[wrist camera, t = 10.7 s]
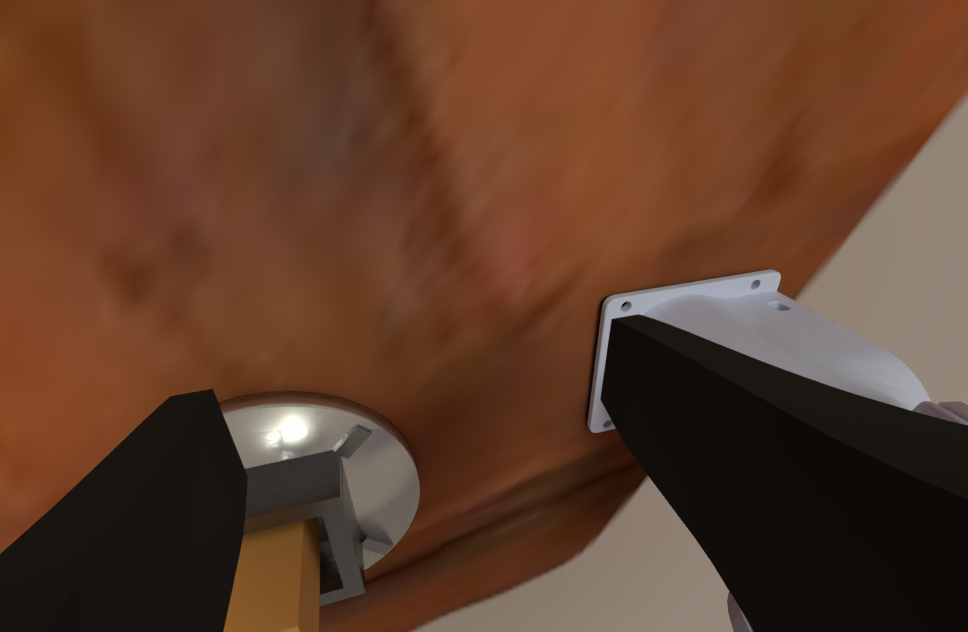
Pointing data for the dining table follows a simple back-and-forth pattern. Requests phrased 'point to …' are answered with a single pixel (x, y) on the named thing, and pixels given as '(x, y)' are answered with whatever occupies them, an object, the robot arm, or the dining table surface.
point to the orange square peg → (277, 580)
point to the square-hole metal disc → (326, 478)
